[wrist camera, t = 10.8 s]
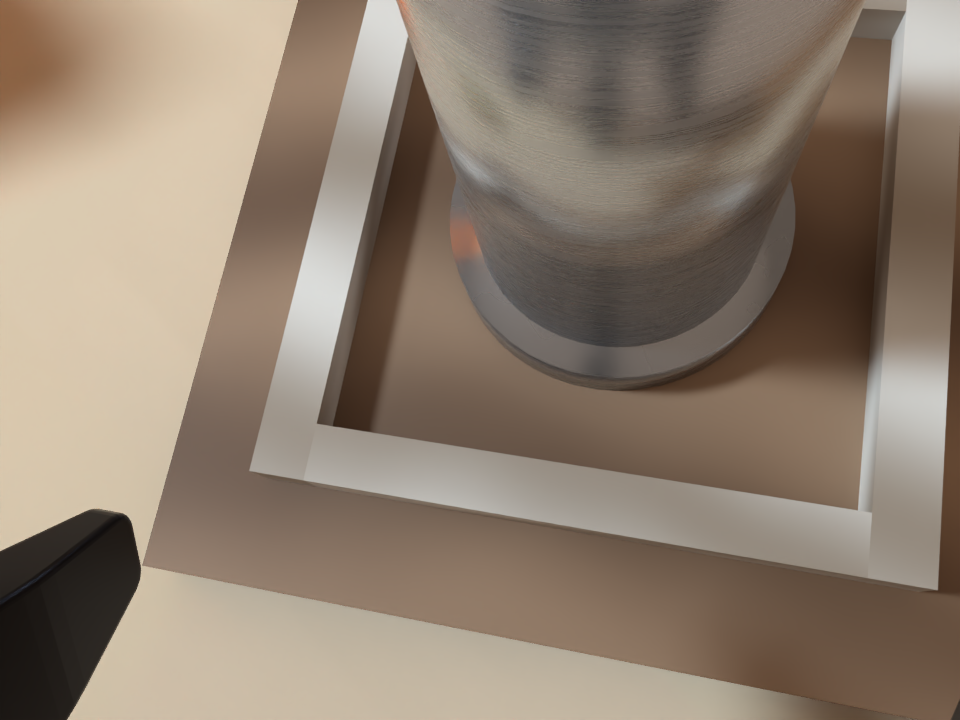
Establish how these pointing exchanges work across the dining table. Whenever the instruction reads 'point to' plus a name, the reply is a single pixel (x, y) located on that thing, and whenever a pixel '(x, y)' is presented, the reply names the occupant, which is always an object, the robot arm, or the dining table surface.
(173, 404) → the dining table surface
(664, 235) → the silver metal cup
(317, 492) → the bronze base
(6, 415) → the dining table surface
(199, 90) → the dining table surface
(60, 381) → the dining table surface
